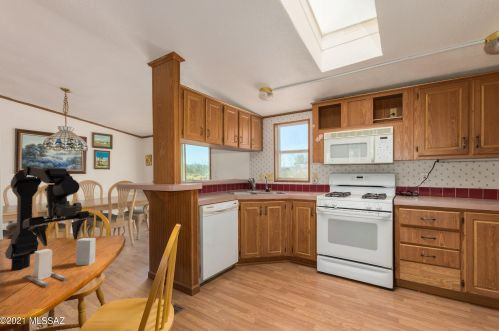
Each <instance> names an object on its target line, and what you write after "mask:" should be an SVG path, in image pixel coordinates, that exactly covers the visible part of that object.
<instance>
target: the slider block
mask: <svg viewBox="0 0 499 331" xmlns="http://www.w3.org/2000/svg"><path fill="white" fill-rule="evenodd" d="M33 256H34V258H33V259H34V261H33V275H32V276H33V277H35V278H37V279H39V280H41V281H42V280H44V279H47V278H50V277H52V276H51V271H52V265H53V264H52V262H53V249H50V248H45V249H41V250H39V249H38V250H37V251H35V254H33Z"/></svg>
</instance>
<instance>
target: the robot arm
mask: <svg viewBox="0 0 499 331" xmlns="http://www.w3.org/2000/svg"><path fill="white" fill-rule="evenodd" d="M10 180H11V181H10V187H11V190H12V193H13V194H14V195H15V197H17V201H16V202H17V205H16V207H17V208H16V209H17V210H16V233H15V234H13V236H12V238H11V239H10V244H9V245H8V247H7V248H6V250H5V253H4V254H5V258H6V259H8V260H11V263H10V264H11V265H10V269H11V272H16V271H17V272H18V271H21V270H24V269H28V268H30V267H31V255H34V254H35V251H38V247H39V241H40V242H41V244H42V245H43V246H44V247H47V246H48V240H47V233H46V232H47V231H46V226H47V225H46V224H50V223H57V222H64V221H71V220H72V222H71V230H72V237H73V240H74V241H77V240H78V236H79V232H80V230H81V227H82V225H83V223H84V222H85V221H87V219H89V218H91V213H90V211H89V210H83V208H82V202H73V204H70V200H68V197H69V196H72V195H74V194H76V193H78V192H79V191H80V186H81V185H80V183H79V182H78V181H77V180H76V179H74V178H73V176H72V175H71V174H70V173H69V171H67V168H65V167H42V166H40V165H25V166H24V167H23V169H22V170H20V171H18V172H17V173H15V174H14V175H13V177H12V178H11V179H10ZM41 183H45V184H46V185H47V184H48V185H47V187H45V188H44V191H45V192H46V203H47V204H46V205H45V208H46V209H47V213H48V215H47V216H46V217H44V215H42V216H35V217H34V216H33V200H34V199H33V197H34V196H35V194H36V193H37V192H38V190H39V186H40V185H41ZM38 239H39V241H38Z"/></svg>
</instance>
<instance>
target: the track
mask: <svg viewBox="0 0 499 331" xmlns="http://www.w3.org/2000/svg"><path fill="white" fill-rule="evenodd" d="M51 277H53V278H56V279H58V280H61V281H63V282H67V281H68V277H65V276H63V275H61V274H59V273H56V272H53V271H52V270H51ZM24 278H25V279H27V280H29V281H32V282H33V283H36V284H37V285H40V286H41V287H44V288H45V289H46V288H48V287H49V283H48V282H46V281H44V280H42V279H41V280H39V279H37V278H35V277H33V275H30V274H29V273H26V274H24Z"/></svg>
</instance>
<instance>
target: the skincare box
mask: <svg viewBox="0 0 499 331" xmlns="http://www.w3.org/2000/svg"><path fill="white" fill-rule="evenodd" d="M96 241H97V240H96V237H82V238H79V239H76V247H75V248H76V250H75V251H76V252H75V253H76V254H75V255H76V256H75V266H90V265H92V264H94V263H95V262H96Z"/></svg>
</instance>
